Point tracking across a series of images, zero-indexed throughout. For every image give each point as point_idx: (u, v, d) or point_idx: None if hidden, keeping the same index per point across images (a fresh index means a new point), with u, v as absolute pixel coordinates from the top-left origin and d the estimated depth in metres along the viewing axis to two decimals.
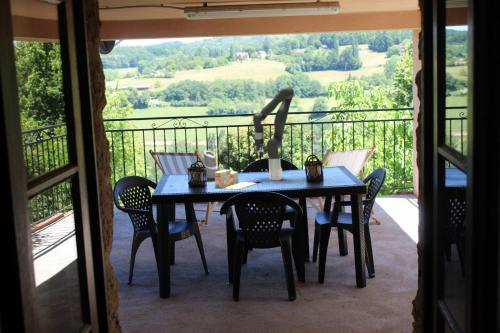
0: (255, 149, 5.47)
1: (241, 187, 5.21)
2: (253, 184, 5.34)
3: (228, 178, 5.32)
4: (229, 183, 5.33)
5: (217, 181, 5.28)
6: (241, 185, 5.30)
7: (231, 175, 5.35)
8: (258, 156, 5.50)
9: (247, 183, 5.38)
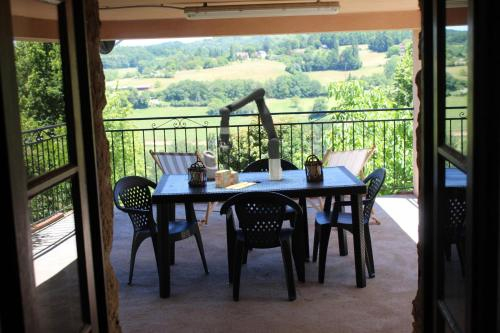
0: (230, 144, 5.36)
1: (241, 187, 5.21)
2: (253, 184, 5.34)
3: (228, 178, 5.32)
4: (229, 183, 5.34)
5: (217, 181, 5.28)
6: (241, 185, 5.30)
7: (231, 175, 5.35)
8: None
9: (247, 183, 5.38)
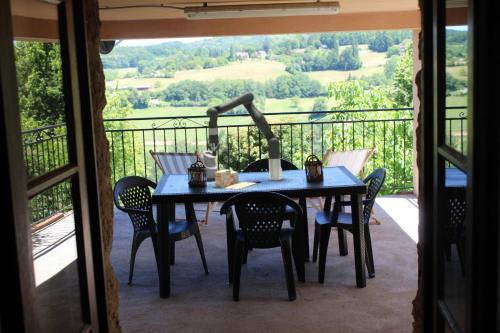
0: (219, 147, 5.34)
1: (241, 187, 5.21)
2: (253, 184, 5.34)
3: (228, 178, 5.33)
4: (229, 183, 5.34)
5: (217, 181, 5.28)
6: (241, 185, 5.30)
7: (231, 175, 5.36)
8: None
9: (247, 183, 5.38)
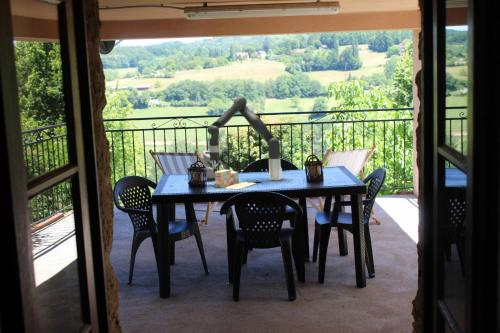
0: (220, 164, 5.36)
1: (241, 187, 5.21)
2: (253, 184, 5.34)
3: (228, 178, 5.33)
4: (229, 183, 5.34)
5: (217, 181, 5.28)
6: (241, 185, 5.30)
7: (231, 175, 5.36)
8: None
9: (247, 183, 5.38)
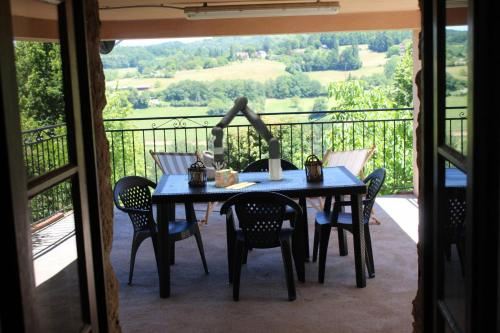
0: (224, 166, 5.35)
1: (241, 187, 5.21)
2: (253, 184, 5.34)
3: (228, 178, 5.33)
4: (229, 183, 5.34)
5: (217, 181, 5.29)
6: (241, 185, 5.30)
7: (231, 175, 5.36)
8: None
9: (247, 183, 5.38)
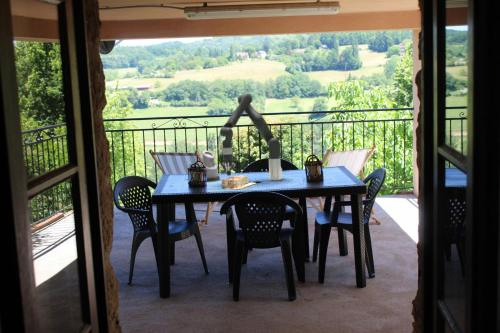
0: (233, 166, 5.31)
1: (241, 187, 5.21)
2: (253, 184, 5.34)
3: None
4: None
5: (226, 182, 5.23)
6: None
7: None
8: None
9: (247, 183, 5.38)
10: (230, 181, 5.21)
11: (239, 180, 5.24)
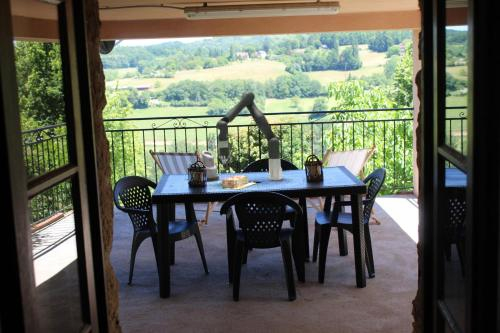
0: (230, 159, 5.38)
1: (241, 187, 5.21)
2: (253, 184, 5.34)
3: None
4: None
5: (226, 182, 5.23)
6: None
7: None
8: None
9: (247, 183, 5.38)
10: (230, 181, 5.21)
11: (239, 180, 5.24)
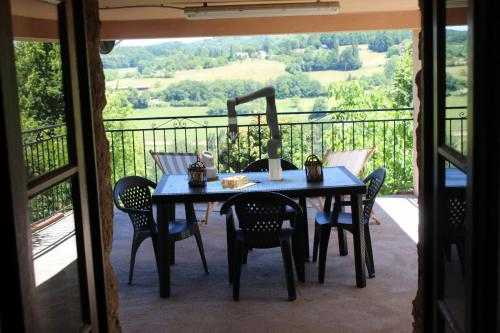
0: (238, 136, 5.52)
1: (241, 187, 5.21)
2: (253, 184, 5.34)
3: None
4: None
5: (226, 182, 5.23)
6: None
7: None
8: None
9: (247, 183, 5.38)
10: (230, 181, 5.21)
11: (239, 180, 5.24)
